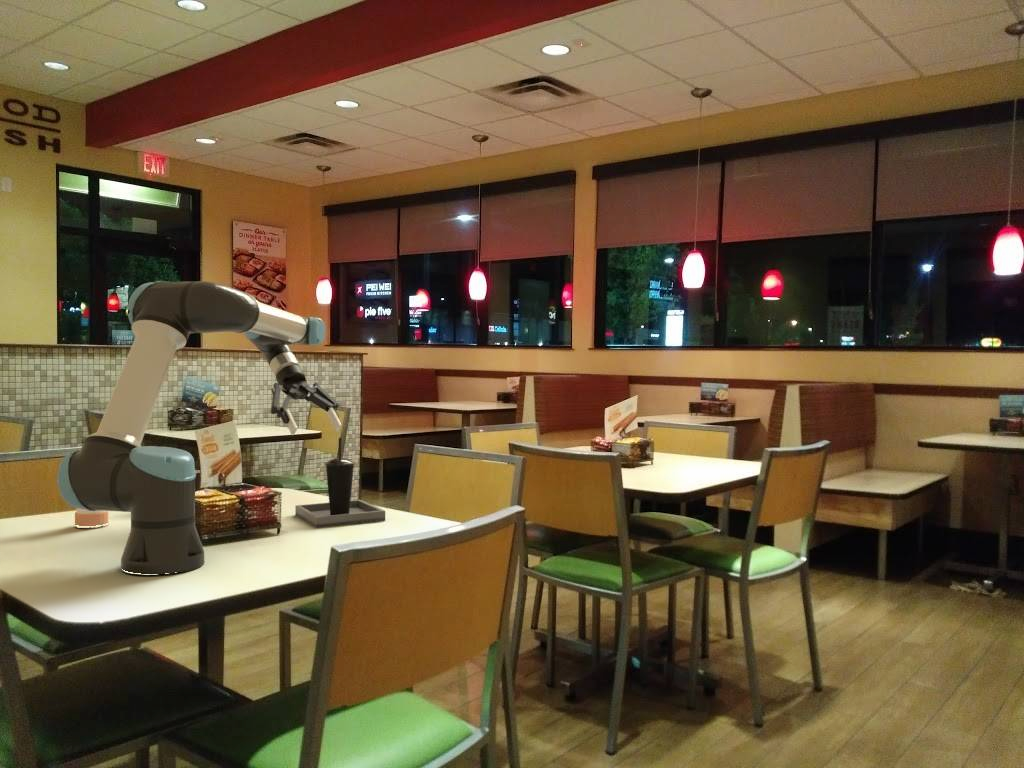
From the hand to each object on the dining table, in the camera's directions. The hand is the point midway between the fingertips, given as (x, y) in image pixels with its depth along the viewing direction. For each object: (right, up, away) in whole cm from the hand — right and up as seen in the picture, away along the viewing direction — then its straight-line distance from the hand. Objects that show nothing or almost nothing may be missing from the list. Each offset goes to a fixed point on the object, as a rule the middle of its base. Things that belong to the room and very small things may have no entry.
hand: (317, 429), depth 211 cm
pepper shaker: (-50, -22, -19) cm, 58 cm away
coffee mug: (-39, -22, +4) cm, 45 cm away
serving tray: (+7, -22, -7) cm, 25 cm away
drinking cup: (+7, -22, -6) cm, 24 cm away
